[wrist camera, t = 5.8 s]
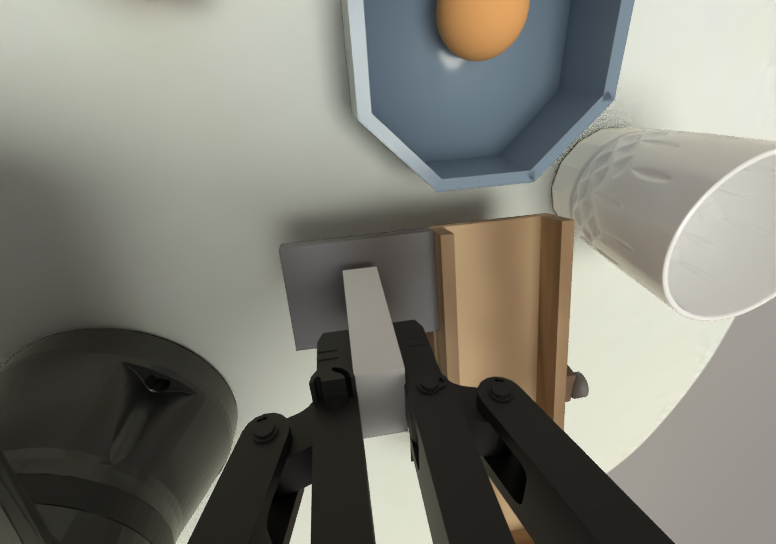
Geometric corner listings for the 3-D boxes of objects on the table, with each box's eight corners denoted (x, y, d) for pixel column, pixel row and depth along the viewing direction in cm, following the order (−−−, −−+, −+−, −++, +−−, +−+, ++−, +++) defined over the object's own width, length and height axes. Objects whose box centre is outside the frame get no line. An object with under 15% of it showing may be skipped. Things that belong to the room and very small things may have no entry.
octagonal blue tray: (356, 177, 22) (364, 199, 18) (330, -104, 16) (333, -157, 12) (553, 158, 23) (598, 175, 20) (591, -108, 18) (666, -157, 14)
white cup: (559, 258, 27) (674, 348, 18) (526, 158, 23) (651, 212, 14) (665, 202, 26) (838, 268, 17) (648, 89, 22) (859, 102, 14)
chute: (337, 541, 26) (339, 620, 21) (287, 235, 20) (274, 256, 15) (522, 504, 27) (559, 571, 23) (527, 208, 21) (578, 220, 17)
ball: (455, 35, 15) (444, -75, 15) (431, 78, 19) (423, -8, 18) (552, 29, 15) (544, -78, 15) (508, 73, 19) (501, -11, 19)
